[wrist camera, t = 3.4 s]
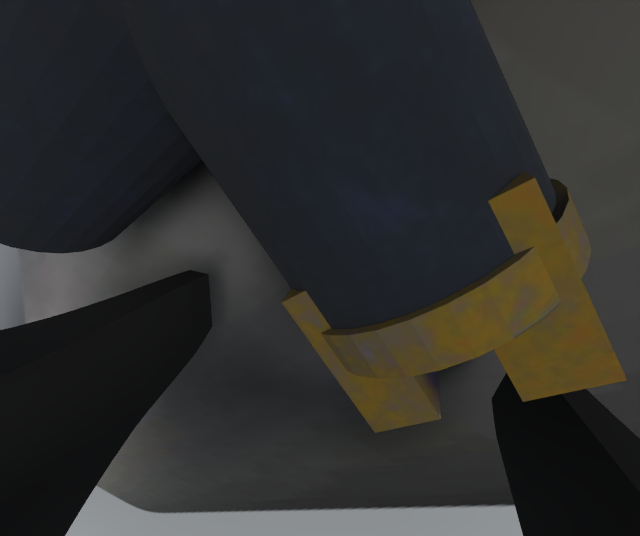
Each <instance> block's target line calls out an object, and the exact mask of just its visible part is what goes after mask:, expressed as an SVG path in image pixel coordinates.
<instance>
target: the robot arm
mask: <svg viewBox="0 0 640 536" xmlns="http://www.w3.org/2000/svg"><path fill="white" fill-rule="evenodd" d="M211 327H212V317H211V304H210V291H209V278H208V274H205V273H200V272H196V271H192V270H189V271H186V272H182V273H179V274H176V275H173V276H170V277H167V278H165V279H162V280H159V281H156V282H154V283H151V284H148V285H146V286H143V287H140V288H137V289H135V290H132V291H129V292H126V293H124V294H121V295H118V296H115V297H112V298H109V299H106V300H103V301H100V302H97V303H94V304H91V305H88V306H85V307H82V308H80V309H77V310H74V311H70V312H67V313H64V314H60V315H57V316H53V317H50V318H47V319H43V320H39V321H35V322H31V323H28V324H24V325H20V326H17V327H13V328H8V329H4V330H0V536H65V534H66V533H67V531H68V530H69V528H70V526H71V524H72V523H73V521H74V520H75V518H76V516H77V515H78V513H79V512H80V510H81V508H82V507H83V505H84V503H85V502H86V500H87V499H88V497H89V495H90V494H91V492H92V491H93V489H94V488H95V486H96V485H97V483H98V482H99V480H100V478H101V477H102V475H103V474H104V472H105V471H106V469H107V468H108V466H109V465H110V463H111V462H112V460H113V459H114V457H115V456H116V454H117V453H118V451H119V450H120V448H121V447H122V445H123V444H124V443H125V441H126V440H127V438H128V437H129V435H130V434H131V432H132V431H133V429H134V428H135V427H136V425H137V424H138V423H139V422H140V420H141V419H142V418H143V416H144V415H145V414H146V413H147V411H148V410H149V409H150V408H151V407H152V405H153V404H154V403H155V402H156V400H157V399H158V398H159V397H160V396H161V394H162V393H163V392H164V391H165V390H166V388H167V387H168V386H169V385H170V384H171V382H172V381H173V380H174V379H175V378H176V376H177V375H178V374H179V373H180V371H181V370H182V369H183V368H184V367H185V365H186V364H187V363H188V362H189V360H190V359H191V358H192V357H193V355H194V354H195V353H196V351H197V350H198V348H199V347H200V345H201V344H202V342H203V340H204V339H205V337H206V335H207V334H208V332H209V330H210V329H211ZM492 405H493V414H494V422H495V429H496V436H497V440H498V444H499V448H500V452H501V455H502V459H503V463H504V467H505V470H506V474H507V478H508V481H509V485H510V489H511V492H512V496H513V500H514V503H515V507H516V511H517V514H518V518H519V522H520V525H521V529H522V532H523V536H640V439H639V438H638V437H637V436H636V435H635V434H634V433H633V432H631V431H630V430H629V429H628V428H627V427H626V426H625V425H624V424H623V423H622V422H621V421H620V420H618V419H617V418H616V417H615V416H614V415H613V414H612V413H611V412H610V411H609V410H608V409H607V408H606V407H605V406H603V405H602V404H601V403H600V402H599V401H598V400H597V399H596V398H595V397H594V396H593V395H592V394H591V393H590V392H589V391H588V390H586V389H582V390H578V391H573V392H568V393H563V394H559V395H554V396H549V397H544V398H539V399H535V400H530V401H525V402H523V401H522V399H521V397H520V396H519V394H518V392H517V390H516V388H515V387H514V385H513V383H512V381H511V379H510V378H509V376H508V374H507V373H506V375H505V376H504V378H503V380H502V382H501V383H500V385H499V387H498V389H497V390H496V392H495V394H494V396H493V397H492Z"/></svg>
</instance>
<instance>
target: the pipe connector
mask: <svg viewBox="0 0 640 536" xmlns="http://www.w3.org/2000/svg"><path fill="white" fill-rule="evenodd" d="M201 160H202V161H203V162H204V163H205V165H206V166H207V168H208V169H209V171H210V172H211V173H212V175H213V176H214V178H215V179H216V181H217V182H218V184H219V185H220V186H221V188H222V189H223V191H224V192H225V194H226V195H227V196H228V198H229V199H230V201H231V202H232V204H233V205H234V206H235V208H236V209H237V211H238V212H239V214H240V215H241V216H242V218H243V219H244V221H245V222H246V224H247V225H248V226H249V228H250V229H251V231H252V232H253V234H254V235H255V236H256V238H257V239H258V241H259V242H260V244H261V245H262V246H263V248H264V249H265V251H266V252H267V254H268V255H269V256H270V258H271V259H272V261H273V262H274V264H275V265H276V267H277V268H278V269H279V271H280V272H281V274H282V275H283V277H284V278H285V279H286V281H287V282H288V284H289V285H290V287H291V288H292V289H291V291H290V292H289V293H288V295H287V296H286V297H285V299H284V300H283V301H282V304H283V305H284V307H285V308H286V309H287V311H288V312H289V314H290V315H291V316H292V318H293V319H294V321H295V322H296V323H297V325H298V326H299V328H300V329H301V330H302V332H303V333H304V335H305V336H306V337H307V339H308V340H309V342H310V343H311V344H312V346H313V347H314V349H315V350H316V351H317V353H318V354H319V356H320V357H321V358H322V360H323V361H324V363H325V364H326V365H327V367H328V368H329V370H330V371H331V372H332V374H333V375H334V376H335V378H336V379H337V381H338V382H339V383H340V385H341V386H342V388H343V389H344V390H345V392H346V393H347V395H348V396H349V397H350V399H351V400H352V402H353V403H354V404H355V406H356V407H357V409H358V410H359V411H360V413H361V414H362V416H363V417H364V418H365V420H366V421H367V423H368V424H369V425H370V427H371V428H372V430H373V431H374V432H375V433H377V432H382V431H387V430H391V429H396V428H401V427H406V426H410V425H415V424H420V423H425V422H430V421H434V420H439V419H441V411H440V397H439V383H438V371H440V370H443V369H446V368H448V367H451V366H454V365H457V364H460V363H463V362H465V361H468V360H471V359H474V358H477V357H479V356H481V355H483V354H485V353H487V352H489V351H491V350H493V349H494V351H495V353H496V354H497V356H498V358H499V360H500V362H501V363H502V365H503V367H504V369H505V370H506V372H507V374H508V376H509V378H510V379H511V381H512V383H513V385H514V387H515V388H516V390H517V392H518V394H519V396H520V397H521V399H522V401H523V402H525V401H530V400H535V399H539V398H544V397H549V396H554V395H559V394H563V393H568V392H573V391H578V390H582V389H587V388H592V387H597V386H602V385H606V384H611V383H616V382H621V381H625V380H627V379H626V376H625V374H624V372H623V370H622V368H621V365H620V363H619V361H618V359H617V357H616V354H615V352H614V350H613V348H612V346H611V343H610V341H609V339H608V337H607V335H606V332H605V330H604V328H603V326H602V324H601V321H600V319H599V317H598V315H597V313H596V310H595V308H594V306H593V304H592V302H591V299H590V297H589V295H588V293H587V291H586V288H585V286H584V284H583V282H582V280H581V278H582V276H583V275H584V273H585V272H586V270H587V267H588V263H589V259H590V255H591V247H590V242H589V238H588V235H587V232H586V230H585V228H584V226H583V223H582V221H581V219H580V216H579V214H578V212H577V209H576V207H575V205H574V202H573V200H572V198H571V196H570V193H569V191H568V189H567V187H566V186H564V185H563V184H562V183H561V182H559V181H558V180H554V179H550V178H549V177H548V174H547V172H546V170H545V168H544V165H543V163H542V161H541V159H540V156H539V154H538V152H537V150H536V147H535V145H534V143H533V141H532V138H531V136H530V134H529V132H528V129H527V127H526V125H525V123H524V120H523V118H522V116H521V114H520V111H519V109H518V107H517V105H516V102H515V100H514V98H513V96H512V93H511V91H510V89H509V87H508V84H507V82H506V80H505V78H504V75H503V73H502V71H501V69H500V66H499V64H498V62H497V60H496V57H495V55H494V53H493V50H492V48H491V46H490V44H489V41H488V39H487V37H486V35H485V32H484V30H483V28H482V26H481V23H480V21H479V19H478V17H477V14H476V12H475V10H474V8H473V5H472V3H471V1H470V0H0V243H1V244H4V245H7V246H10V247H15V248H20V249H25V250H30V251H35V252H47V253H70V252H81V251H86V250H89V249H93V248H96V247H100V246H102V245H104V244H106V243H108V242H109V241H111V240H113V239H114V238H116V237H117V236H118V235H119V234H120V233H121V232H122V231H123V230H124V229H126V228H127V227H128V226H129V225H130V224H131V223H132V222H133V221H134V220H136V219H137V218H138V217H139V216H140V215H141V214H142V213H143V212H145V211H146V210H147V209H148V208H149V207H150V206H151V205H152V204H153V203H155V202H156V201H157V200H158V199H159V198H160V197H161V196H162V195H163V194H165V193H166V192H167V191H168V190H169V189H170V188H171V187H172V186H174V185H175V184H176V183H177V182H178V181H179V180H180V179H181V178H182V177H184V176H185V175H186V174H187V173H188V172H189V171H190V170H191V169H193V168H194V167H195V166H196V165H197V164H198V163H199V162H200V161H201Z"/></svg>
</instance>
